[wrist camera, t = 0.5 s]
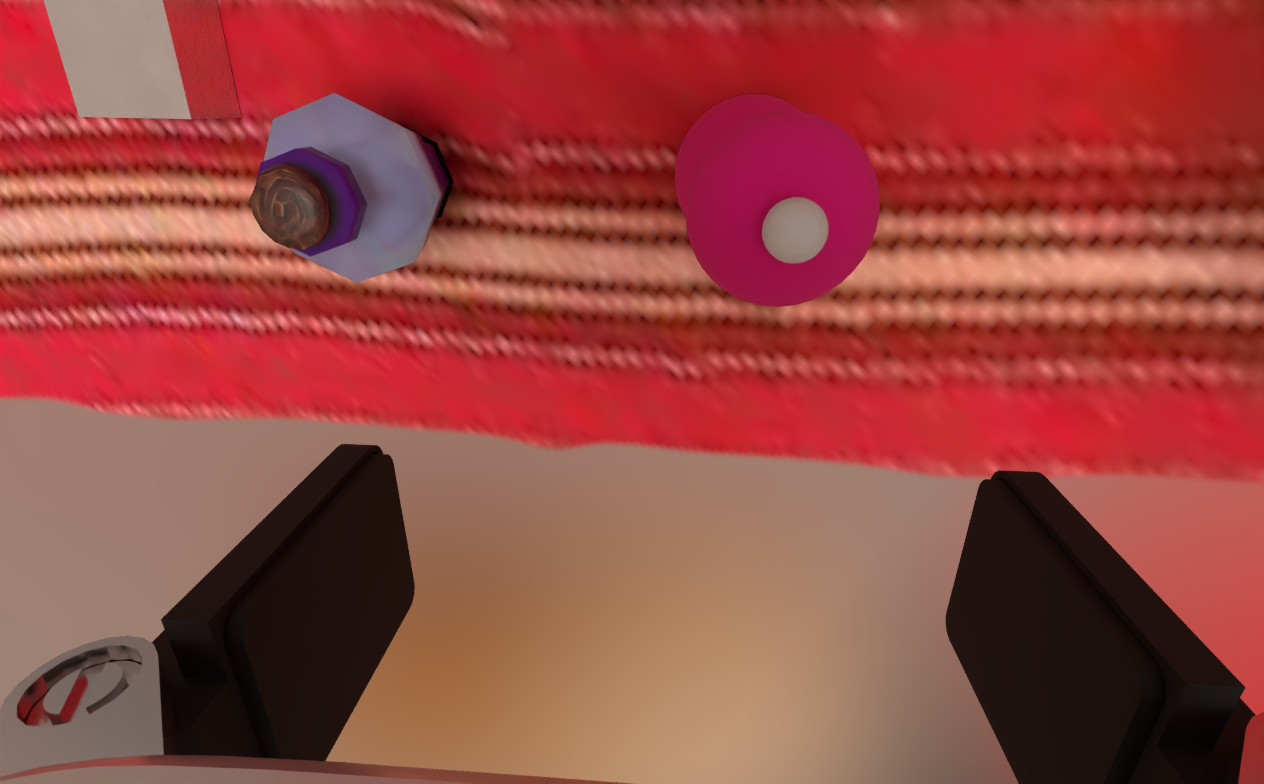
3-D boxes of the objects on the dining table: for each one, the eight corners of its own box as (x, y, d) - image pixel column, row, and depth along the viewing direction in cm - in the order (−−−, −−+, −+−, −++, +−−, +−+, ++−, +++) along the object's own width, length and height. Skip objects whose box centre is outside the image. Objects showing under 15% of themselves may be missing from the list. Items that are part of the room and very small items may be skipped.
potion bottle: (320, 89, 35) (155, 83, 24) (476, 99, 35) (378, 98, 24) (340, 248, 39) (203, 304, 28) (481, 259, 38) (399, 321, 27)
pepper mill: (649, 171, 36) (606, 242, 17) (745, 62, 33) (812, 12, 15) (740, 261, 37) (789, 413, 19) (839, 164, 35) (1004, 230, 16)
